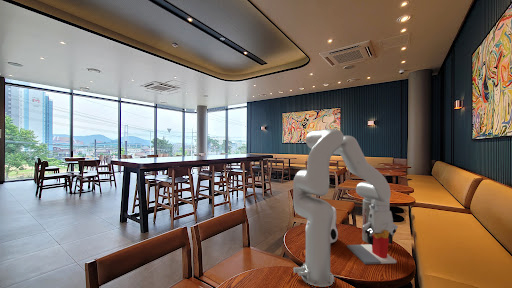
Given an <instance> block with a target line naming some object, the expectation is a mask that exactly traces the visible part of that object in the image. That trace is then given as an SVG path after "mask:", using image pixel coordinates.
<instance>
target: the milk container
mask: <svg viewBox="0 0 512 288" xmlns="http://www.w3.org/2000/svg"><path fill="white" fill-rule="evenodd" d="M332 208H333V219H332V224H331V234H330V245H332V244H334V243H335V242H337V240H338V237H339V232H338V231H339V230H338V227H337V210H336V208H335V207H334V206H332ZM306 221H307V222H306V225H305V230H306V229H307V227H308V225H309V223H310V221H309V220H308V219H306Z"/></svg>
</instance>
